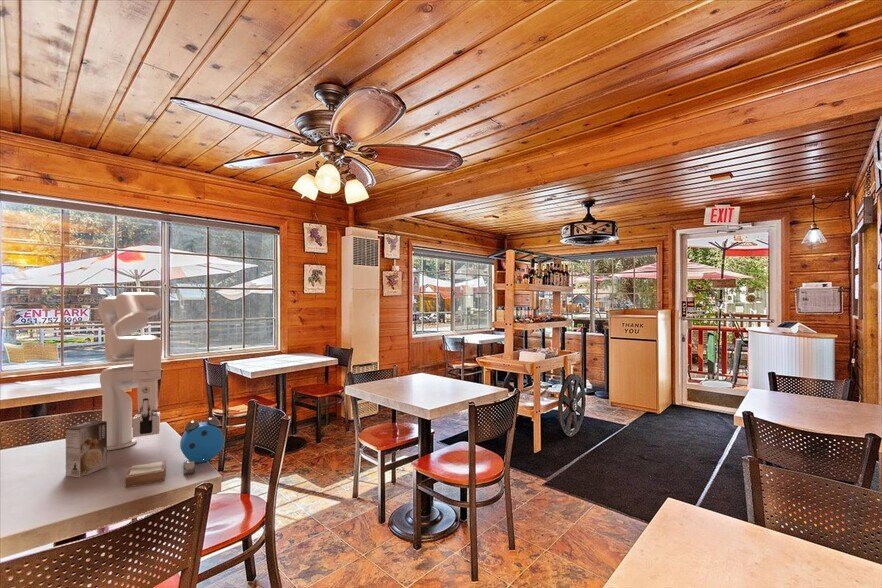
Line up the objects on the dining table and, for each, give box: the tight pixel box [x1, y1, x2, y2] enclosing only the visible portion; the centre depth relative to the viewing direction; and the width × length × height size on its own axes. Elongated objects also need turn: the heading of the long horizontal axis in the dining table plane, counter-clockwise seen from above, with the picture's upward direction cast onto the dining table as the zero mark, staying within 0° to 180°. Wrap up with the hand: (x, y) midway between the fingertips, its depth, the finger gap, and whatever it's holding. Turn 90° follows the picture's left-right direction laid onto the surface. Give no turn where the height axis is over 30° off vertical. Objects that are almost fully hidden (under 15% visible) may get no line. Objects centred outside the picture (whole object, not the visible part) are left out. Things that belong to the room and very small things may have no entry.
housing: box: [132, 411, 161, 438], centre depth 138 cm, size 5×7×6 cm
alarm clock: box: [179, 416, 225, 464], centre depth 152 cm, size 13×6×15 cm, turn 131°
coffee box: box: [65, 420, 108, 478], centre depth 143 cm, size 9×6×16 cm
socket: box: [183, 459, 196, 477], centre depth 141 cm, size 3×3×4 cm
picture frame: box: [124, 460, 167, 488], centre depth 137 cm, size 10×10×3 cm
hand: (146, 430), depth 137 cm, fingers closed on housing, 5 cm apart
